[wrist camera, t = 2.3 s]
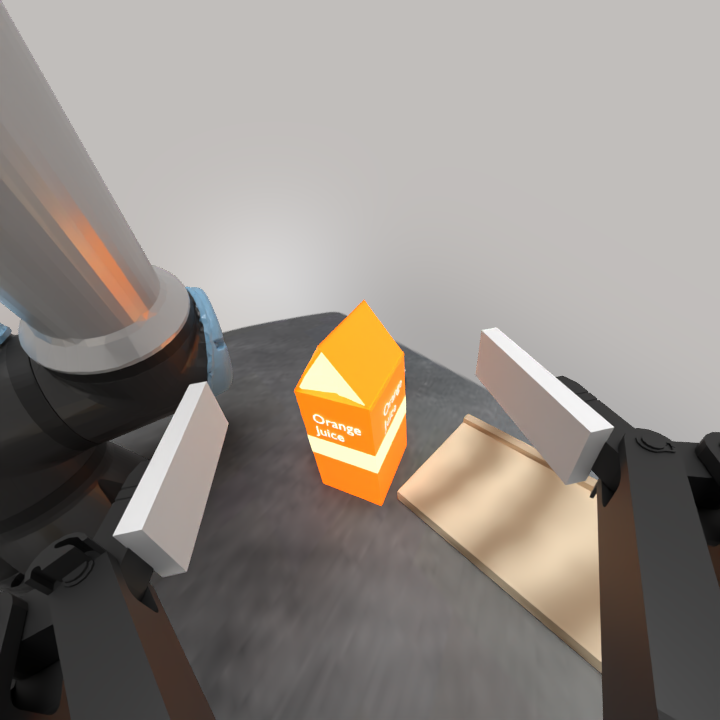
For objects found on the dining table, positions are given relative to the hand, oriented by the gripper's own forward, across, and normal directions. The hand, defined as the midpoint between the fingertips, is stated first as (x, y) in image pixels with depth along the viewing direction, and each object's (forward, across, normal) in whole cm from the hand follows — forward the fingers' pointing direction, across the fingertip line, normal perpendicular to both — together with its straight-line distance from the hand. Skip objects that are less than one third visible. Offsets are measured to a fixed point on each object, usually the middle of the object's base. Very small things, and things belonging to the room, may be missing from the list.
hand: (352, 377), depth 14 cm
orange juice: (+12, 0, -23) cm, 26 cm away
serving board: (+2, +14, -23) cm, 27 cm away
